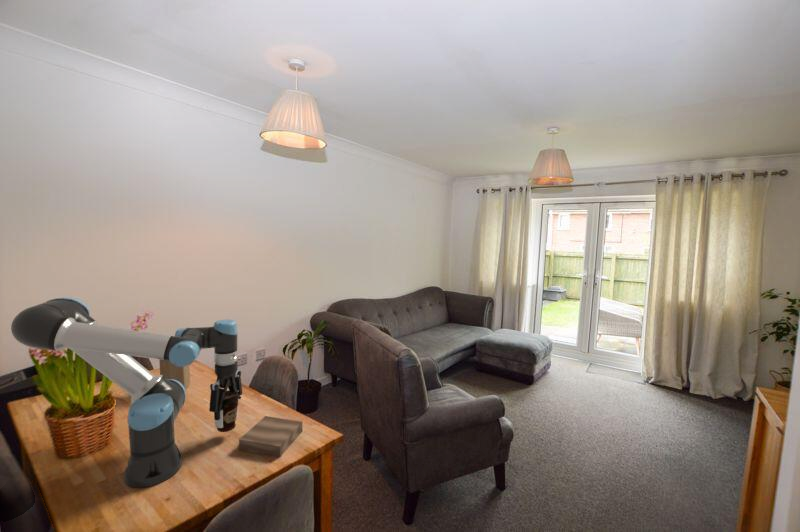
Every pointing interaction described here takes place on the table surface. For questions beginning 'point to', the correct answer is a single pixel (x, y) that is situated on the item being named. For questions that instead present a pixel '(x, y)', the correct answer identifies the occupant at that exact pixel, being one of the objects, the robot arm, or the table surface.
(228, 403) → the coffee cup
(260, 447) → the block
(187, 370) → the block
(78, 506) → the table surface
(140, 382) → the robot arm
